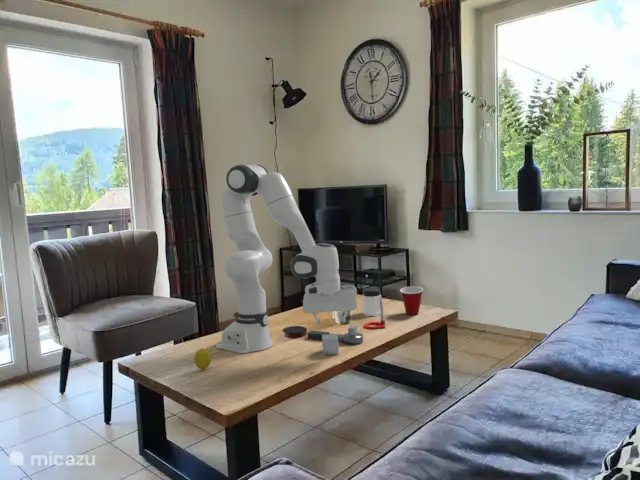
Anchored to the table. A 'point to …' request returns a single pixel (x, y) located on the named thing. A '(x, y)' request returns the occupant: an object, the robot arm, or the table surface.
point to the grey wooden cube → (330, 344)
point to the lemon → (202, 359)
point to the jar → (371, 301)
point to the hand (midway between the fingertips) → (331, 322)
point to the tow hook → (380, 324)
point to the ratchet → (341, 336)
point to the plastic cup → (411, 299)
